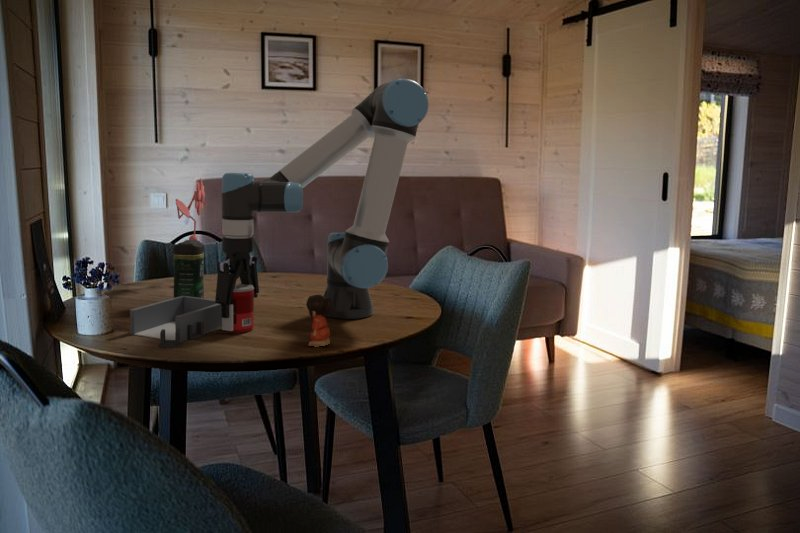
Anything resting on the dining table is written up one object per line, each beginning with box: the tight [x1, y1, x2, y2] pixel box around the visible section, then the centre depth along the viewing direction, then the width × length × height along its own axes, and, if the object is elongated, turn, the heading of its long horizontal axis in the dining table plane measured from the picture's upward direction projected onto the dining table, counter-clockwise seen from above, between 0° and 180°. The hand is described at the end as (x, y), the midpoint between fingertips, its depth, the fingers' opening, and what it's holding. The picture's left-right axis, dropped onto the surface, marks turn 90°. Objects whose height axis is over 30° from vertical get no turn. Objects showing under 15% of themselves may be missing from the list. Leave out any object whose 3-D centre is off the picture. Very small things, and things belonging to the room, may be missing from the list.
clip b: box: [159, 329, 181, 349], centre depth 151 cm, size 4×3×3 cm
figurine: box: [305, 294, 334, 348], centre depth 156 cm, size 6×6×12 cm
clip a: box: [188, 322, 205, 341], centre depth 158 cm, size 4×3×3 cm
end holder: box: [129, 296, 222, 343], centre depth 164 cm, size 14×19×6 cm
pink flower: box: [175, 178, 217, 279], centre depth 221 cm, size 15×26×35 cm, turn 7°
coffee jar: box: [173, 239, 205, 298], centre depth 191 cm, size 10×8×19 cm
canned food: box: [223, 282, 255, 334], centre depth 166 cm, size 8×8×11 cm
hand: (238, 326), depth 167 cm, fingers closed on canned food, 8 cm apart
